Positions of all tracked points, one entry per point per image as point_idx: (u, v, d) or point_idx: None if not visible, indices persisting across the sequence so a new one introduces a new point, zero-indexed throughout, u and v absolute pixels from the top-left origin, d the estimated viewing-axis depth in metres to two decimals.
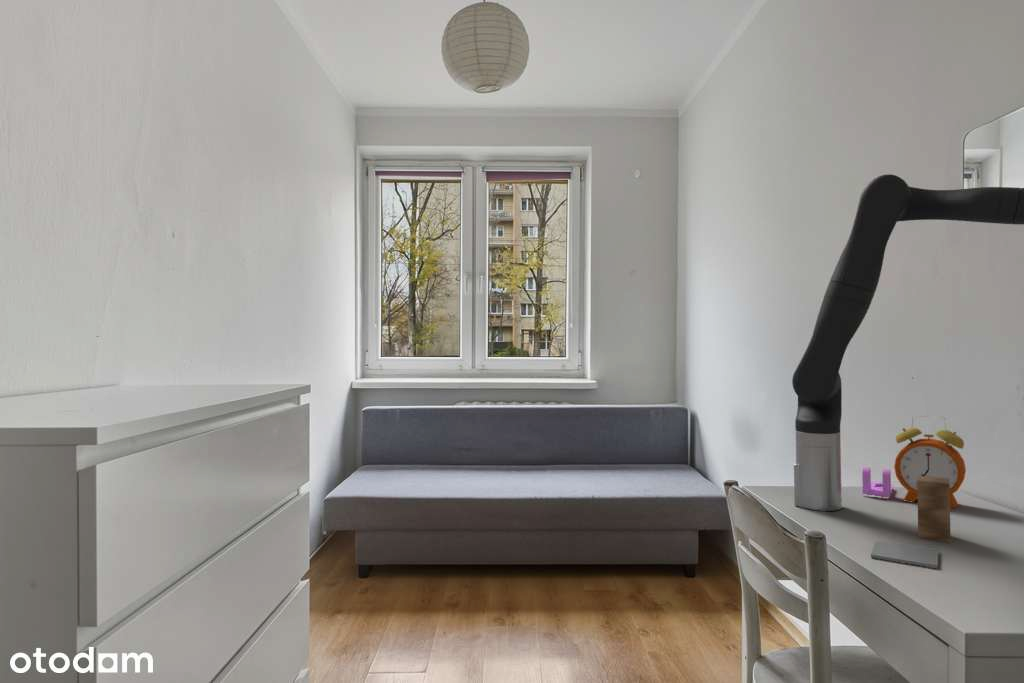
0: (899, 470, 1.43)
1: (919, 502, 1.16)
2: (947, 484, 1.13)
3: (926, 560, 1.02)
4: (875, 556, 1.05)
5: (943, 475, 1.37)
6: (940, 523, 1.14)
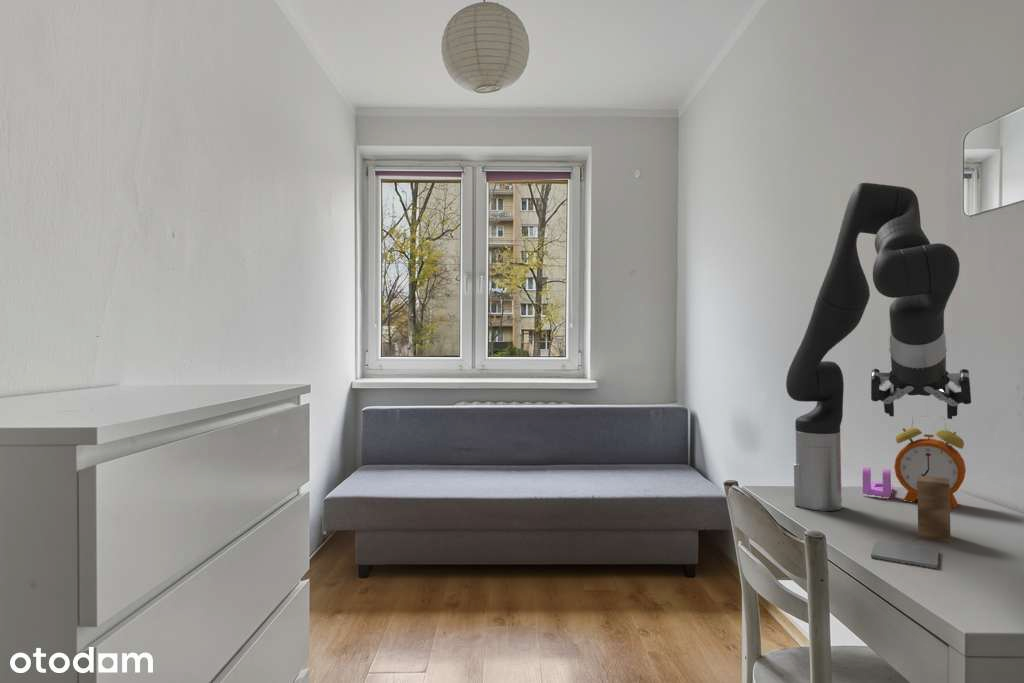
0: (899, 470, 1.43)
1: (919, 502, 1.16)
2: (947, 484, 1.13)
3: (926, 560, 1.02)
4: (875, 556, 1.05)
5: (943, 475, 1.37)
6: (940, 523, 1.14)
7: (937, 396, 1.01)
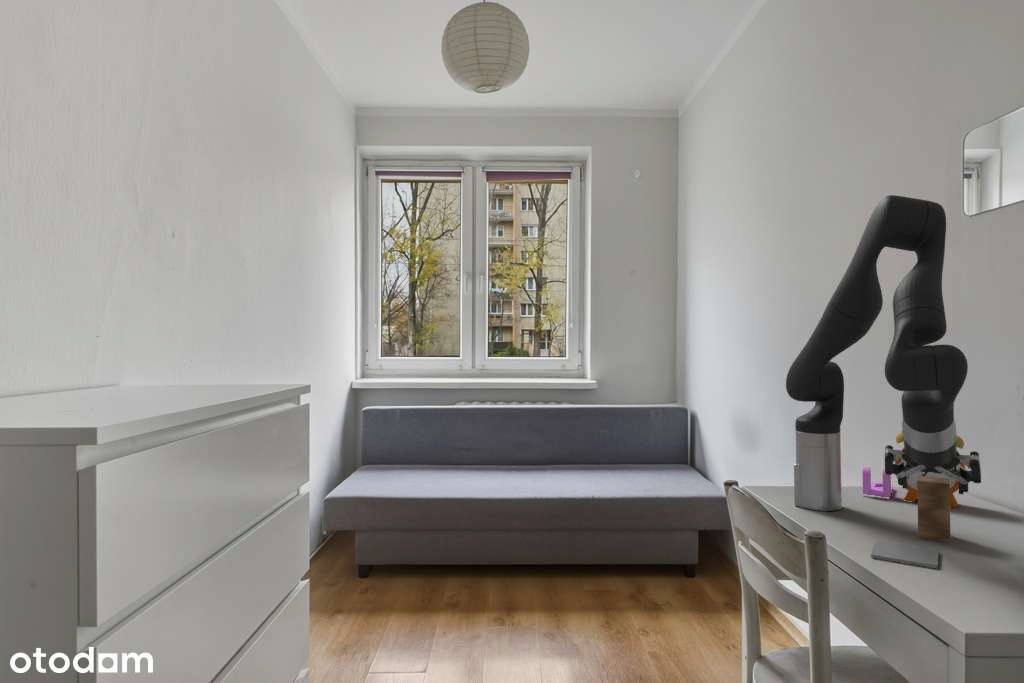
0: None
1: (919, 502, 1.16)
2: (947, 484, 1.13)
3: (926, 560, 1.02)
4: (875, 556, 1.05)
5: (943, 475, 1.37)
6: (940, 523, 1.14)
7: (948, 475, 1.06)
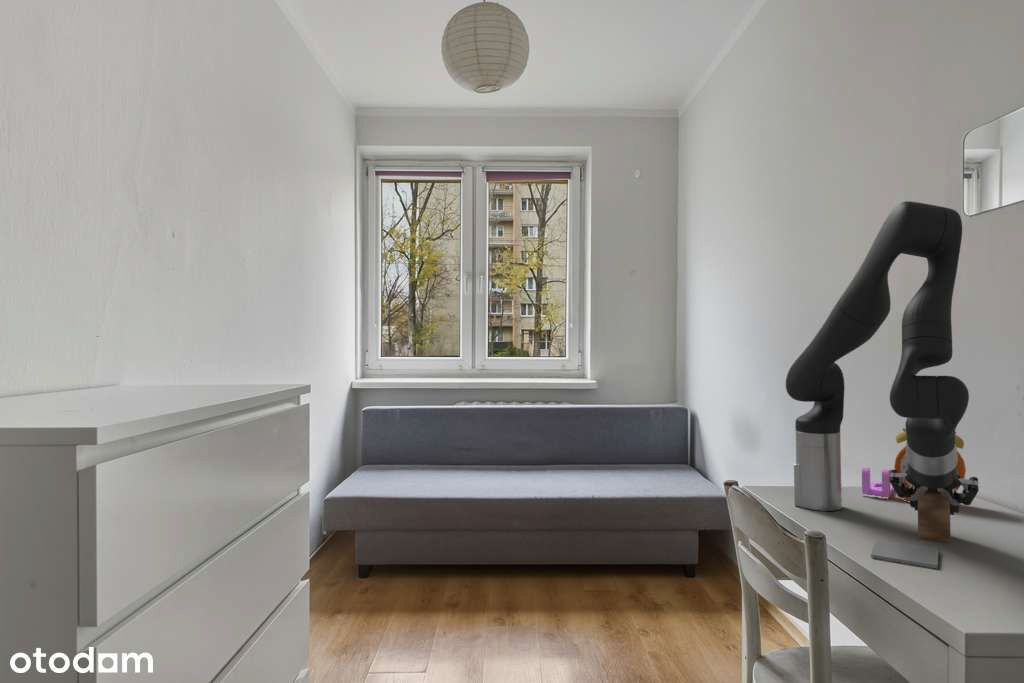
0: (899, 470, 1.43)
1: (919, 502, 1.16)
2: None
3: (926, 560, 1.02)
4: (875, 556, 1.05)
5: None
6: (940, 523, 1.14)
7: (945, 496, 1.12)
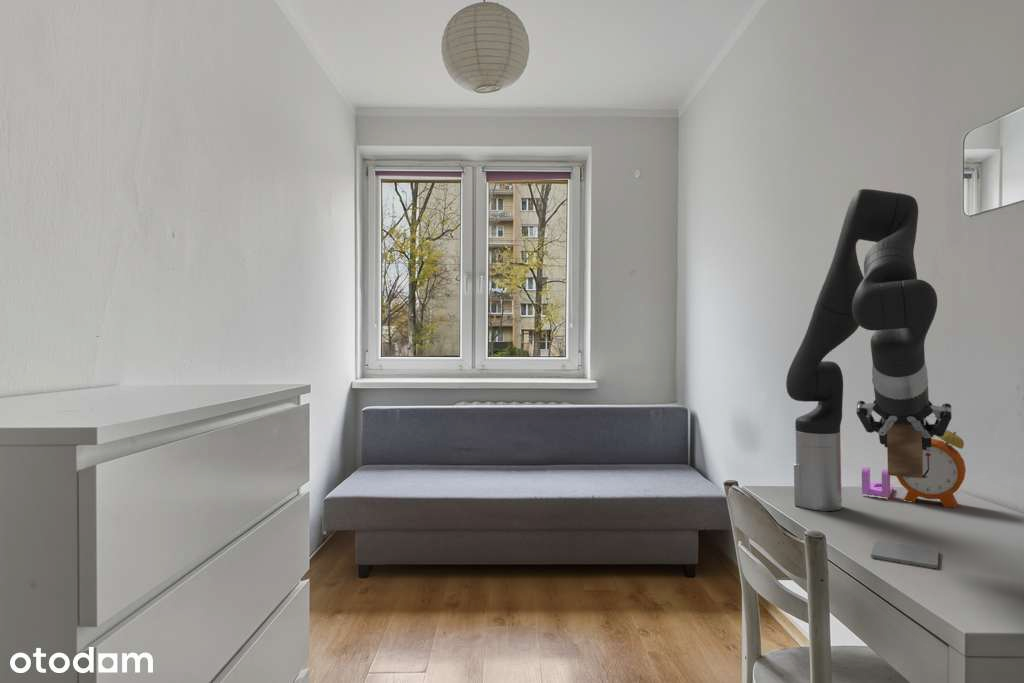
0: None
1: (889, 436, 1.06)
2: None
3: (926, 560, 1.02)
4: (875, 556, 1.05)
5: (943, 475, 1.37)
6: (911, 458, 1.04)
7: (916, 427, 1.02)
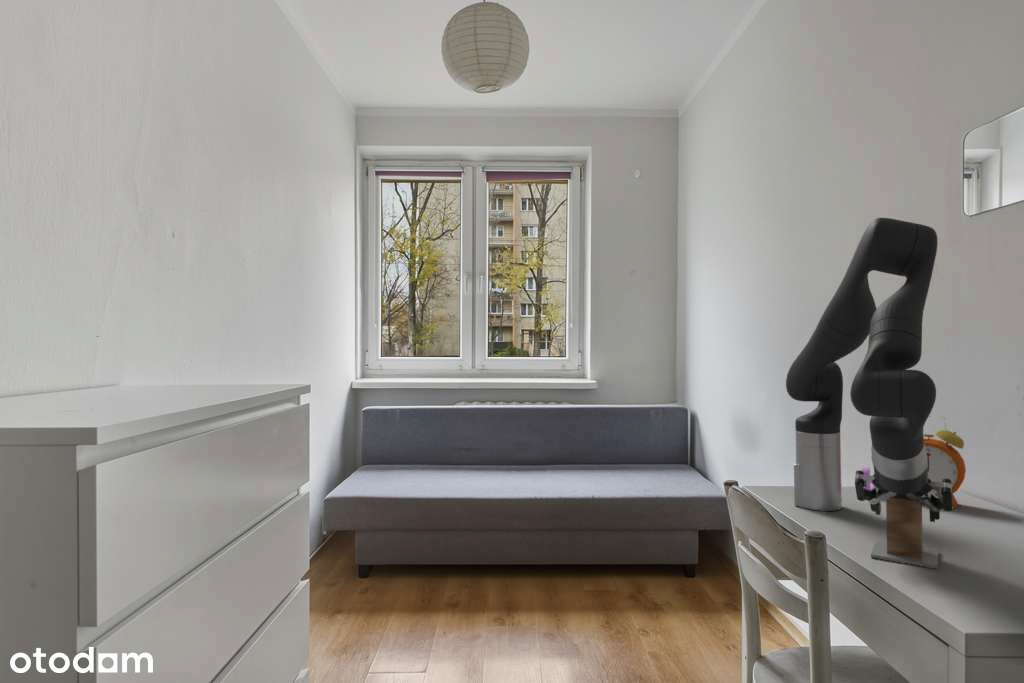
0: None
1: (888, 514, 1.06)
2: None
3: (926, 560, 1.02)
4: (875, 556, 1.05)
5: (943, 475, 1.37)
6: (910, 538, 1.04)
7: (919, 502, 1.02)
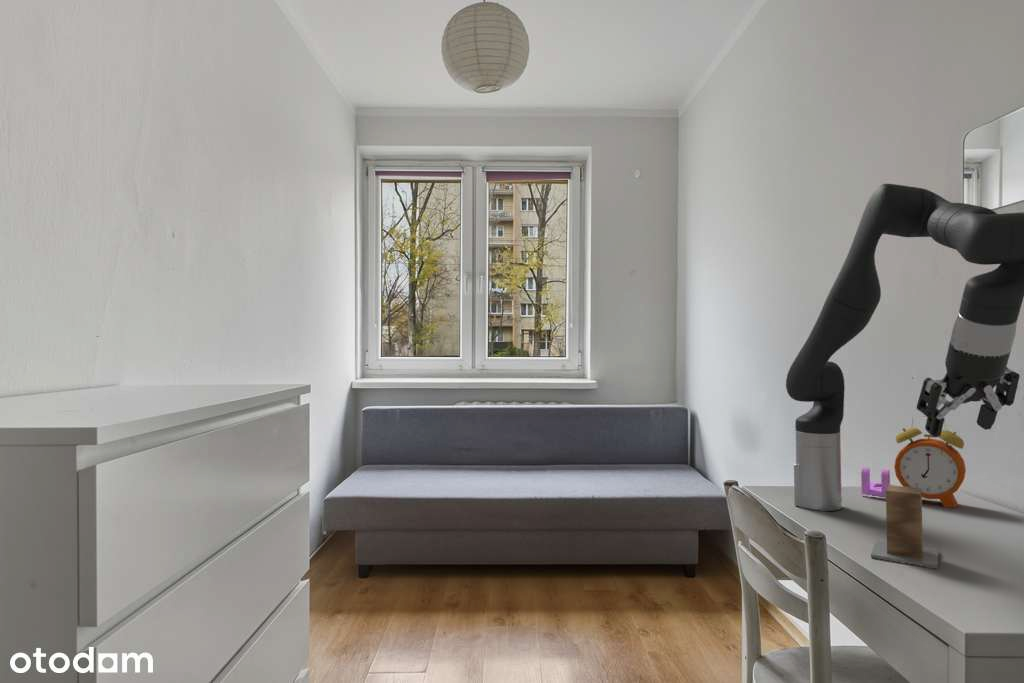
0: (899, 470, 1.43)
1: (888, 514, 1.06)
2: (918, 495, 1.03)
3: (926, 560, 1.02)
4: (875, 556, 1.05)
5: (943, 475, 1.37)
6: (910, 538, 1.04)
7: (991, 398, 0.95)
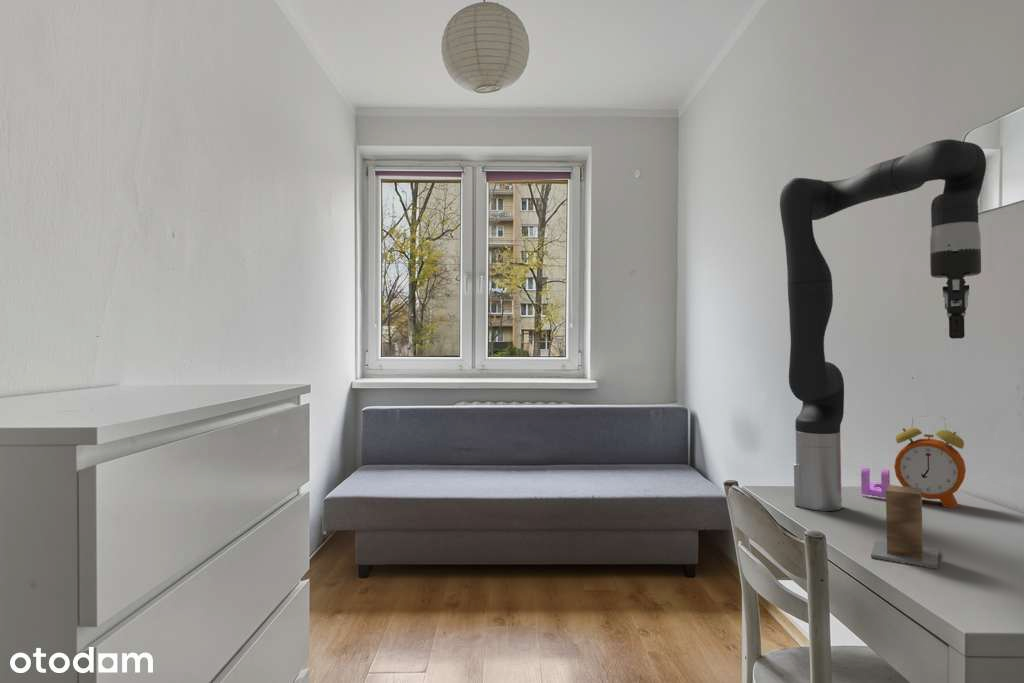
0: (899, 470, 1.43)
1: (888, 514, 1.06)
2: (918, 495, 1.03)
3: (926, 560, 1.02)
4: (875, 556, 1.05)
5: (943, 475, 1.37)
6: (910, 538, 1.04)
7: None
